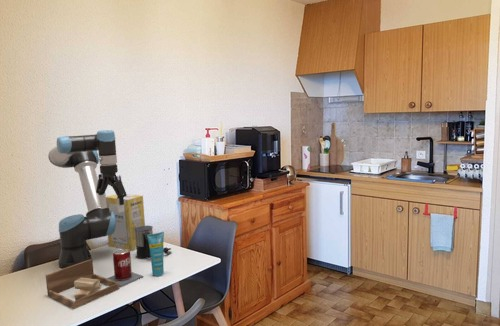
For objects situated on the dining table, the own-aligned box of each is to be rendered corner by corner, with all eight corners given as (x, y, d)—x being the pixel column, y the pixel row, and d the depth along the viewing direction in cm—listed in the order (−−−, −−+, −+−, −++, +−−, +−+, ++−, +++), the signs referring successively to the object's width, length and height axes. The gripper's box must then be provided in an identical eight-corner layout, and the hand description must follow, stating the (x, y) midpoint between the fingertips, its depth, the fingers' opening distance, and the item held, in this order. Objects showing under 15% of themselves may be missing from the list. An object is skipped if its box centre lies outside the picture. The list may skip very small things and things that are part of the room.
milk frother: (132, 256, 202) (130, 228, 200) (158, 247, 214) (156, 221, 212) (148, 262, 192) (146, 233, 191) (174, 253, 204) (172, 225, 202)
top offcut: (92, 291, 156) (92, 283, 155) (74, 288, 159) (73, 281, 158) (99, 286, 160) (99, 279, 159) (81, 284, 163) (81, 277, 162)
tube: (152, 277, 174) (149, 236, 172) (148, 274, 178) (145, 233, 176) (168, 273, 178) (165, 232, 176) (164, 270, 182) (161, 230, 180)
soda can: (111, 279, 173) (109, 252, 171) (124, 273, 179) (122, 247, 177) (122, 282, 169) (120, 255, 167) (135, 276, 175) (133, 250, 173)
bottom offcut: (75, 303, 154) (74, 294, 153) (89, 289, 166) (88, 281, 165) (88, 302, 154) (87, 294, 153) (100, 289, 166) (100, 281, 165)
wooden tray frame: (47, 295, 160) (45, 274, 159) (92, 278, 176) (90, 259, 175) (74, 309, 148) (71, 286, 147) (119, 288, 164) (117, 268, 163)
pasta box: (108, 246, 219) (104, 197, 215) (123, 240, 228) (119, 193, 224) (132, 251, 210) (128, 199, 206) (146, 245, 219) (142, 195, 215)
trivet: (103, 281, 173) (103, 279, 172) (126, 271, 182) (126, 270, 182) (120, 287, 165) (120, 285, 165) (143, 277, 175) (143, 275, 175)
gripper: (85, 164, 183) (89, 208, 186) (117, 167, 168) (121, 215, 171) (100, 162, 189) (103, 205, 192) (132, 164, 174) (135, 211, 177)
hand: (112, 210), depth 181 cm, fingers open, 13 cm apart
